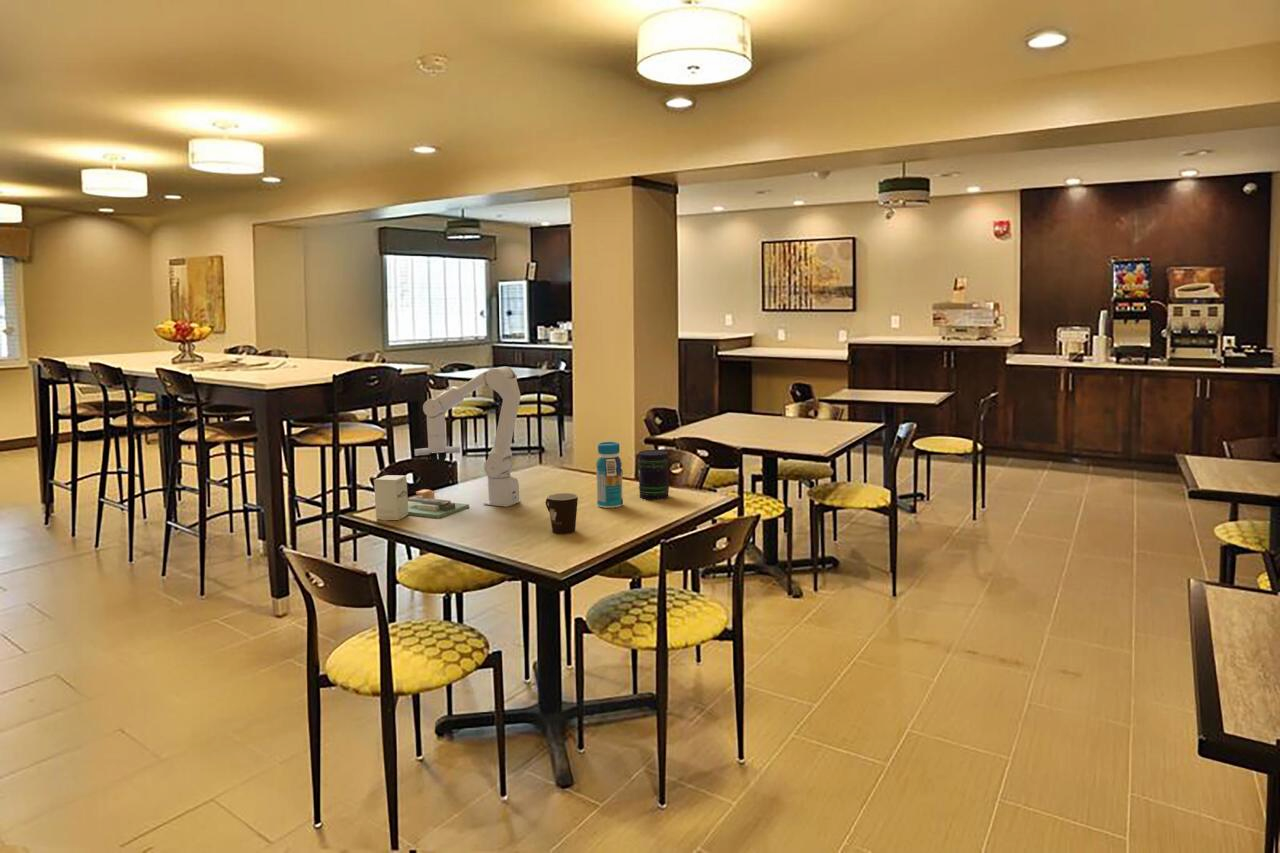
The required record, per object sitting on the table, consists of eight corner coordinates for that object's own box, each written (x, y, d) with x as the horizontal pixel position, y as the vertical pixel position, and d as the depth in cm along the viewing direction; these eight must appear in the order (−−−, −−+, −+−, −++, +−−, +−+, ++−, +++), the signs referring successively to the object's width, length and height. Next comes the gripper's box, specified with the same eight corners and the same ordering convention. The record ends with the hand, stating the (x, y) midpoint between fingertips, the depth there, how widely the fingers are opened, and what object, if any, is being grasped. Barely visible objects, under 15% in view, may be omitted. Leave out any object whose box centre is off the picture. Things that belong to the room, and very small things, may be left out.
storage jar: (633, 496, 282) (632, 452, 280) (656, 492, 288) (655, 448, 285) (651, 501, 274) (650, 456, 272) (675, 497, 280) (674, 452, 278)
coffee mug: (582, 533, 237) (581, 498, 236) (551, 536, 235) (550, 501, 234) (573, 523, 248) (572, 490, 247) (544, 526, 246) (542, 492, 245)
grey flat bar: (450, 503, 267) (450, 500, 267) (443, 505, 263) (443, 503, 263) (414, 498, 273) (414, 496, 273) (407, 501, 270) (406, 498, 270)
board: (469, 507, 271) (468, 500, 271) (438, 518, 258) (438, 510, 257) (424, 502, 279) (423, 495, 278) (392, 513, 265) (392, 505, 265)
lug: (434, 501, 276) (434, 489, 276) (424, 504, 272) (423, 492, 271) (427, 500, 278) (426, 488, 277) (416, 503, 273) (415, 491, 272)
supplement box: (398, 521, 255) (395, 480, 254) (375, 520, 257) (372, 479, 255) (409, 515, 262) (407, 475, 261) (387, 514, 264) (384, 474, 262)
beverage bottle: (591, 507, 268) (590, 444, 265) (605, 501, 275) (603, 440, 273) (615, 509, 264) (613, 446, 261) (628, 503, 272) (626, 442, 269)
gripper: (414, 438, 272) (416, 479, 274) (460, 435, 276) (462, 476, 278) (413, 434, 279) (415, 475, 281) (458, 432, 283) (460, 472, 285)
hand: (438, 475), depth 280 cm, fingers closed
